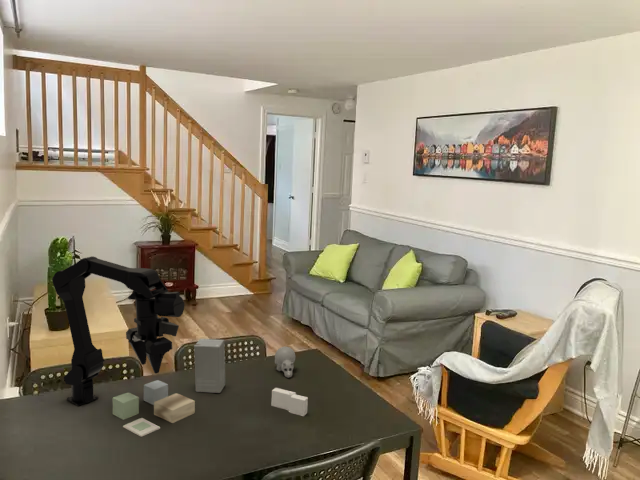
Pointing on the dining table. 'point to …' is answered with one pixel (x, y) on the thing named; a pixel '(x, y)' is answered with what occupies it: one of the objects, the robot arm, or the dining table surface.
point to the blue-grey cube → (155, 391)
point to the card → (141, 427)
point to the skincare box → (209, 365)
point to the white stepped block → (289, 401)
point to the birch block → (174, 407)
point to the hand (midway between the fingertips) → (150, 368)
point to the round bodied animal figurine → (285, 360)
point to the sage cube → (125, 405)
